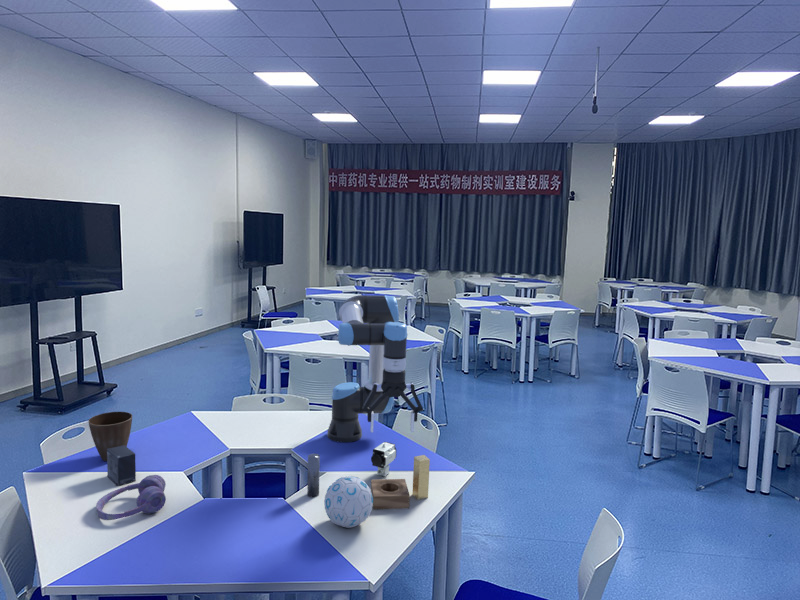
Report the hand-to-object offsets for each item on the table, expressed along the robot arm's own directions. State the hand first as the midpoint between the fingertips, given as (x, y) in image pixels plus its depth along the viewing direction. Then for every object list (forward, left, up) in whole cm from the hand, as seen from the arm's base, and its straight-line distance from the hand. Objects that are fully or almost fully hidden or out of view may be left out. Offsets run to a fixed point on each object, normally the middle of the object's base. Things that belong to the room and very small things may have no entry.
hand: (391, 430), depth 184 cm
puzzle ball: (+14, -15, -25) cm, 32 cm away
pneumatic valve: (-19, 0, -25) cm, 31 cm away
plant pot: (-38, -104, -25) cm, 113 cm away
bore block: (0, 0, -25) cm, 25 cm away
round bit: (-5, -26, -25) cm, 36 cm away
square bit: (-2, +11, -25) cm, 27 cm away
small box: (-20, -94, -25) cm, 99 cm away
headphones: (+1, -83, -25) cm, 87 cm away
